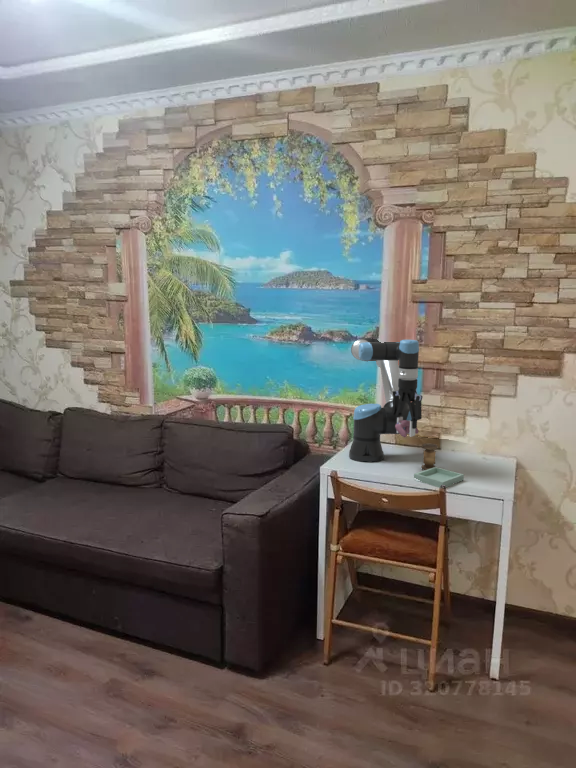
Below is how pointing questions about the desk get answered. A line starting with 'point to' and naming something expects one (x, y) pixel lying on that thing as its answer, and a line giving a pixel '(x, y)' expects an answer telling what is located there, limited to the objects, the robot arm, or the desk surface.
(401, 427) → the video game controller
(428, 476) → the green square tray
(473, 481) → the desk surface
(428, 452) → the bobbin
